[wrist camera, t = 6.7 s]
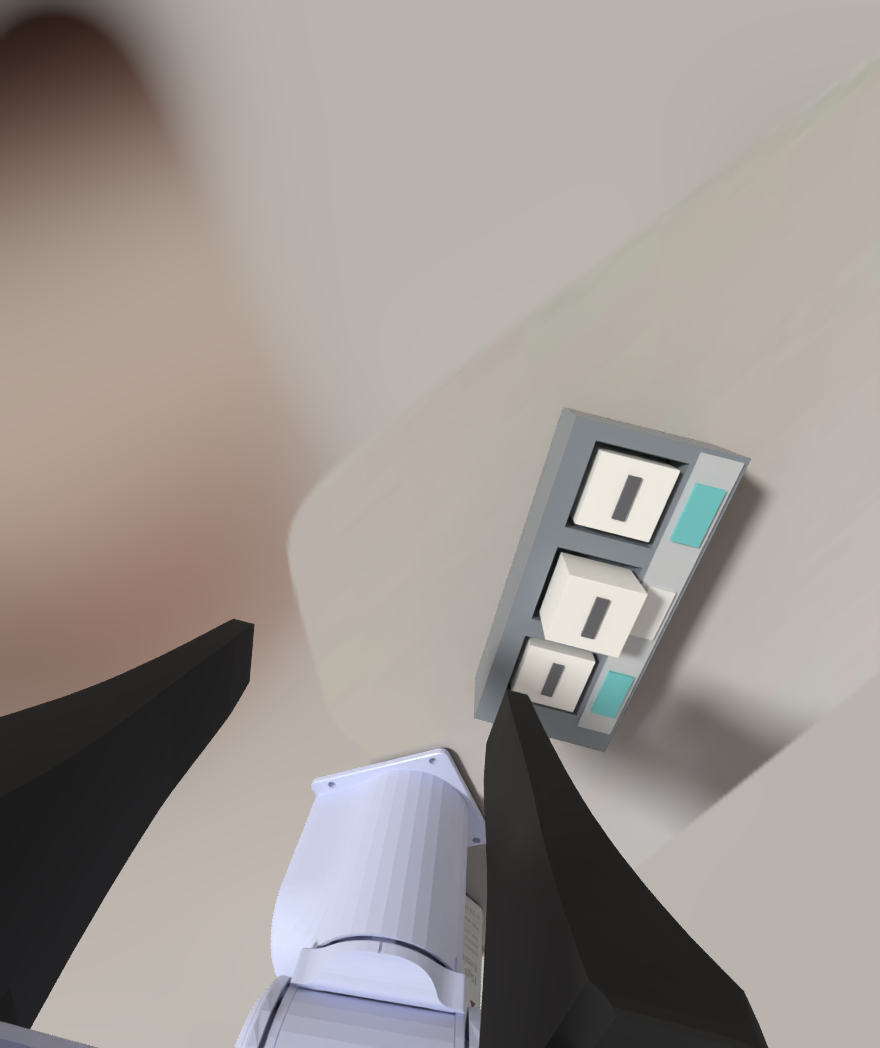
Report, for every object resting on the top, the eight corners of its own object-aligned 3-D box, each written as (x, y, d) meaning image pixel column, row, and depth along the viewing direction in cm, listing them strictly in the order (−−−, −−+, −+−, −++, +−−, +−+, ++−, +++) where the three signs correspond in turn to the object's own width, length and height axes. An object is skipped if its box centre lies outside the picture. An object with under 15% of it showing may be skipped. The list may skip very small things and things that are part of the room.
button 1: (565, 681, 23) (573, 713, 21) (509, 667, 23) (511, 697, 21) (585, 634, 22) (596, 663, 20) (526, 619, 22) (530, 646, 20)
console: (591, 707, 24) (605, 756, 21) (475, 677, 24) (474, 722, 21) (712, 444, 19) (754, 460, 16) (563, 407, 19) (577, 416, 16)
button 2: (632, 524, 19) (649, 543, 17) (566, 507, 19) (575, 524, 17) (659, 458, 18) (681, 471, 16) (589, 441, 18) (602, 451, 16)
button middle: (605, 628, 20) (618, 659, 17) (539, 611, 20) (545, 640, 18) (630, 569, 18) (648, 595, 16) (561, 552, 18) (570, 575, 16)
